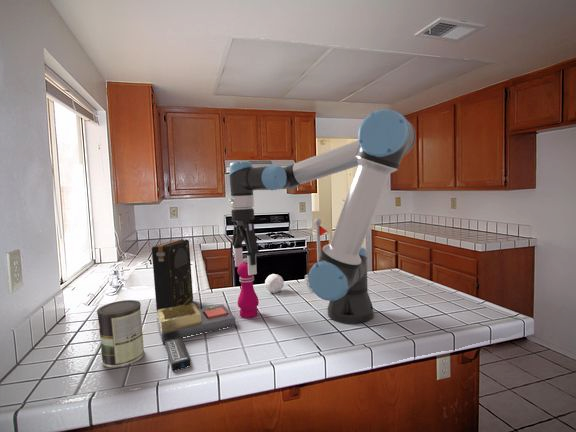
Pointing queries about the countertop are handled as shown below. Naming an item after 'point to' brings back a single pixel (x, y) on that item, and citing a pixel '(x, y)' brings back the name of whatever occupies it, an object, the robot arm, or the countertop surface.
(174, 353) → the multiport hub
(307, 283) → the flag stand
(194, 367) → the countertop surface
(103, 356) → the coffee can
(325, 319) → the countertop surface
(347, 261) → the robot arm
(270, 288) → the ball
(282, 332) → the countertop surface
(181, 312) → the grey board with box
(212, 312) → the button
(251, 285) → the pepper mill
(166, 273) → the voltmeter
